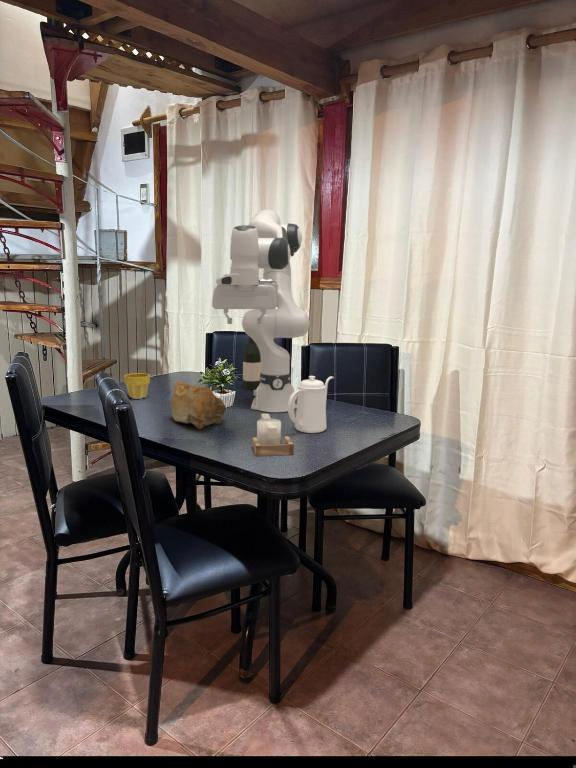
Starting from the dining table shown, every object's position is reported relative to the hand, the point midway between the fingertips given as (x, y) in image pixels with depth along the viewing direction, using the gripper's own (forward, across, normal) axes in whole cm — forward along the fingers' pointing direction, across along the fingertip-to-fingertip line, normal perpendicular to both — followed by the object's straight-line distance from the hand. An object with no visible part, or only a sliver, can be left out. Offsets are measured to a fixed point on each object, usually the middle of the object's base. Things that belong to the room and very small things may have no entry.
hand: (244, 323), depth 181 cm
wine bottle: (+37, -11, -74) cm, 84 cm away
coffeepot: (+37, -24, -6) cm, 45 cm away
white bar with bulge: (+37, -7, +6) cm, 38 cm away
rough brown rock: (+37, +13, -18) cm, 44 cm away
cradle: (+37, -7, +14) cm, 40 cm away
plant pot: (+37, +38, -60) cm, 80 cm away
